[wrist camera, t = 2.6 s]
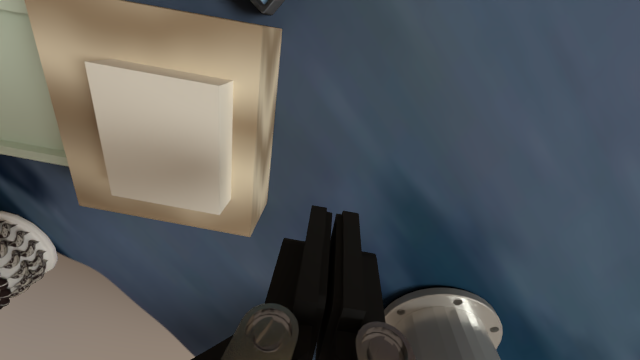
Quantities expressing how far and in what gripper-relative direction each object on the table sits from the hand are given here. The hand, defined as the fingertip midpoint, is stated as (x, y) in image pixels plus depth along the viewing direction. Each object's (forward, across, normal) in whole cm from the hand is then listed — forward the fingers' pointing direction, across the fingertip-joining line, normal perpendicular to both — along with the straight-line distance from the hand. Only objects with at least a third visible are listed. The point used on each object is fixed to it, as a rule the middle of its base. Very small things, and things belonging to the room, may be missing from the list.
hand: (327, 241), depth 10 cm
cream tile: (+8, +10, +1) cm, 13 cm away
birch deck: (+13, +11, +1) cm, 18 cm away
